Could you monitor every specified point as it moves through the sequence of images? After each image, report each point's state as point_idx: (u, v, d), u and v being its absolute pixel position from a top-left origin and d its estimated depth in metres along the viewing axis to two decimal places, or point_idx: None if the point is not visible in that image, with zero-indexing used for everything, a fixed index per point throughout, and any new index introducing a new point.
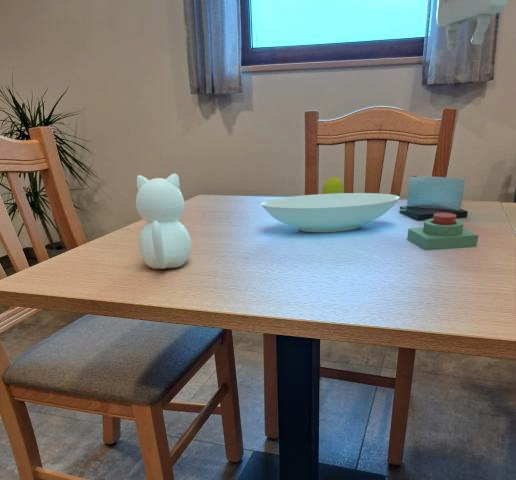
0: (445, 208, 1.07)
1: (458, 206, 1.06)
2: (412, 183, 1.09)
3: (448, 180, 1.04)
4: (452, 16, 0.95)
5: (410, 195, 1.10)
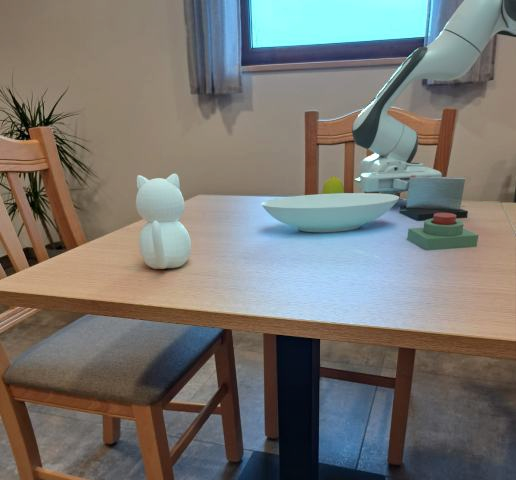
0: (446, 208, 1.07)
1: (459, 205, 1.06)
2: (412, 183, 1.08)
3: (449, 180, 1.05)
4: None
5: (410, 196, 1.09)
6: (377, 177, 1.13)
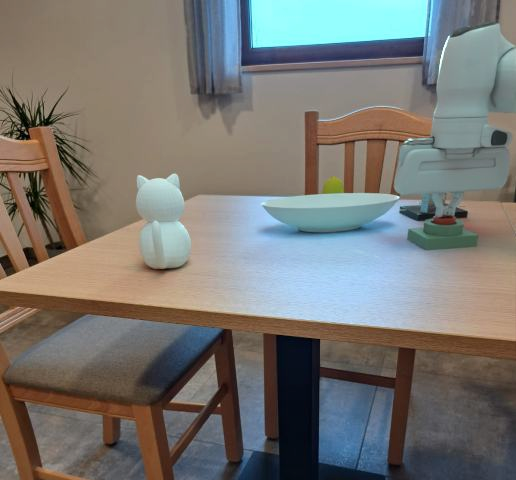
0: None
1: (445, 200, 1.12)
2: None
3: None
4: None
5: (429, 200, 1.04)
6: (416, 193, 0.82)
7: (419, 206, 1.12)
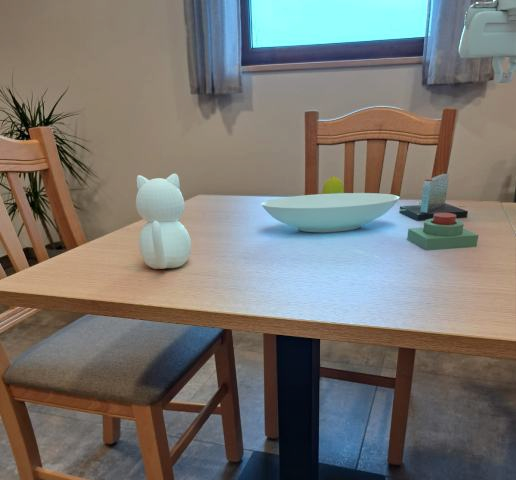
0: (440, 205, 1.11)
1: (445, 200, 1.12)
2: (431, 187, 1.03)
3: (444, 178, 1.08)
4: None
5: (429, 200, 1.04)
6: (479, 55, 0.92)
7: (419, 206, 1.12)
